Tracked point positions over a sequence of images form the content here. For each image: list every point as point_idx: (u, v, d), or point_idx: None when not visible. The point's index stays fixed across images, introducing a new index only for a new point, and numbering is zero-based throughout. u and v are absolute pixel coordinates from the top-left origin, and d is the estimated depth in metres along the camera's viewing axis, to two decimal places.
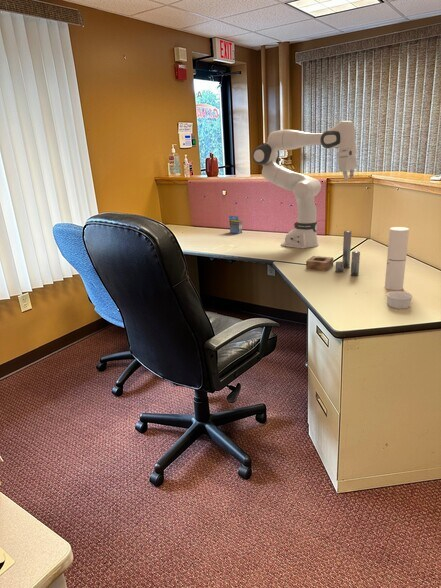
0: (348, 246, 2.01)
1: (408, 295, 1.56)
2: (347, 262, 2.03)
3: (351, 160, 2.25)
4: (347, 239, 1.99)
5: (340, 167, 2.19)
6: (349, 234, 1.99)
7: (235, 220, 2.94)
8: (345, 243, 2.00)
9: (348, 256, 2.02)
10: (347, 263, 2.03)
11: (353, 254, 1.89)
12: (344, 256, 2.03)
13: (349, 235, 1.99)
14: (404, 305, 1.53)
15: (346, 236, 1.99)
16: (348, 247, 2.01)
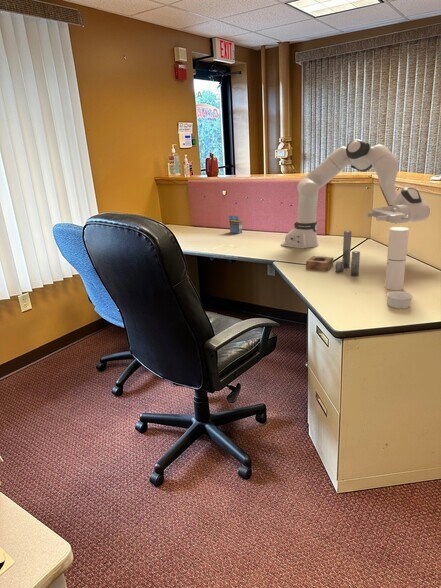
0: (348, 246, 2.01)
1: (408, 295, 1.56)
2: (347, 262, 2.03)
3: (391, 212, 1.99)
4: (347, 239, 1.99)
5: None
6: (349, 234, 1.99)
7: (235, 220, 2.94)
8: (345, 243, 2.00)
9: (348, 256, 2.02)
10: (347, 263, 2.03)
11: (353, 254, 1.89)
12: (344, 256, 2.03)
13: (349, 235, 1.99)
14: (404, 305, 1.53)
15: (346, 236, 1.99)
16: (348, 247, 2.01)
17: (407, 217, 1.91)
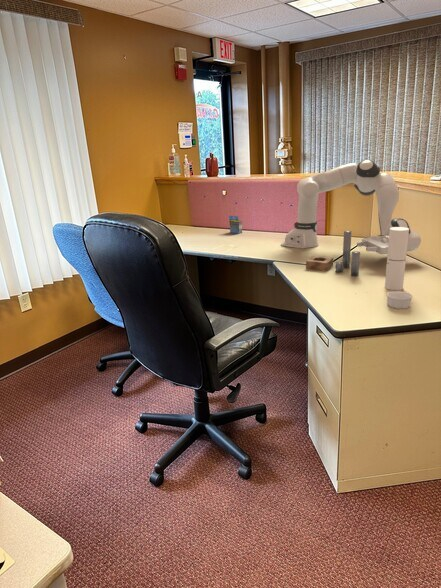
0: (348, 246, 2.01)
1: (408, 295, 1.56)
2: (347, 262, 2.03)
3: (381, 242, 2.03)
4: (347, 239, 1.99)
5: None
6: (349, 234, 1.99)
7: (235, 220, 2.94)
8: (345, 243, 2.00)
9: (348, 256, 2.02)
10: (347, 263, 2.03)
11: (353, 254, 1.89)
12: (344, 256, 2.03)
13: (349, 235, 1.99)
14: (404, 305, 1.53)
15: (346, 236, 1.99)
16: (348, 247, 2.01)
17: None
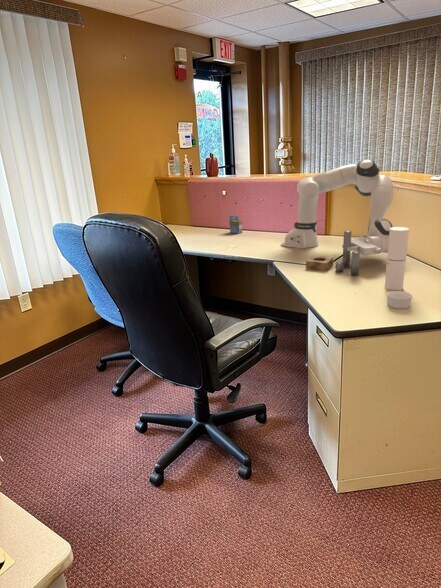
0: (348, 246, 2.01)
1: (408, 295, 1.56)
2: (347, 262, 2.03)
3: (364, 243, 2.02)
4: (347, 239, 1.99)
5: None
6: (349, 234, 1.99)
7: (235, 220, 2.94)
8: (345, 243, 2.00)
9: (348, 256, 2.02)
10: (347, 263, 2.03)
11: (353, 254, 1.89)
12: (344, 256, 2.03)
13: (349, 235, 1.99)
14: (404, 305, 1.53)
15: (346, 236, 1.99)
16: None
17: (378, 250, 1.94)
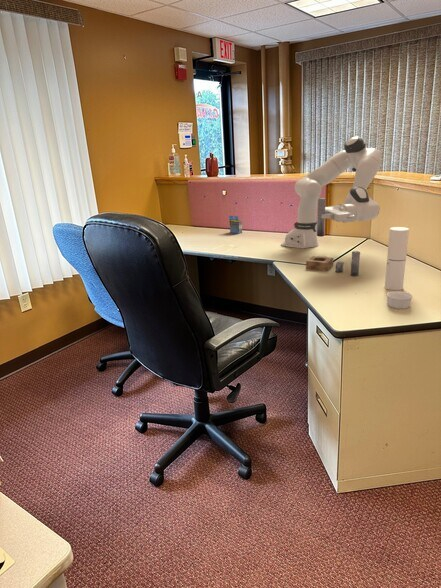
0: (322, 213, 1.98)
1: (408, 295, 1.56)
2: (321, 230, 2.01)
3: (339, 211, 1.99)
4: (321, 206, 1.97)
5: None
6: (323, 201, 1.96)
7: (235, 220, 2.94)
8: (319, 210, 1.98)
9: (322, 224, 2.00)
10: (321, 231, 2.01)
11: (353, 254, 1.89)
12: (318, 224, 2.00)
13: (323, 202, 1.96)
14: (404, 305, 1.53)
15: (320, 203, 1.96)
16: None
17: (352, 216, 1.92)
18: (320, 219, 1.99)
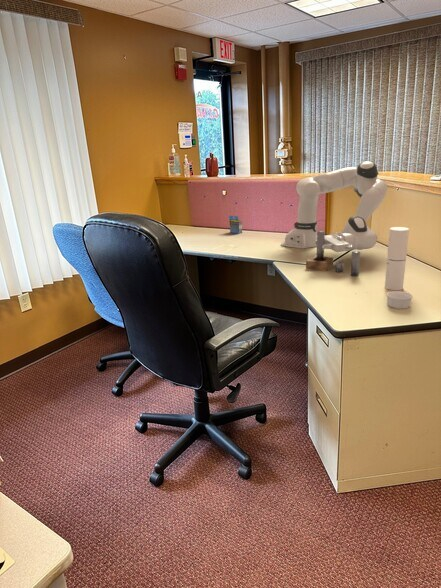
0: (321, 246, 2.03)
1: (408, 295, 1.56)
2: None
3: (337, 240, 2.04)
4: (321, 239, 2.02)
5: None
6: (322, 234, 2.01)
7: (235, 220, 2.94)
8: (318, 243, 2.03)
9: (321, 256, 2.05)
10: None
11: (353, 254, 1.89)
12: (318, 256, 2.06)
13: (322, 235, 2.01)
14: (404, 305, 1.53)
15: (319, 236, 2.02)
16: (321, 247, 2.03)
17: (350, 246, 1.97)
18: (319, 251, 2.04)
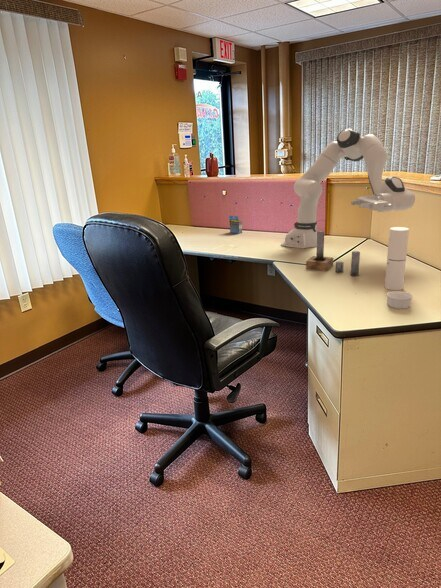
0: (321, 246, 2.04)
1: (408, 295, 1.56)
2: None
3: (375, 200, 2.01)
4: (320, 239, 2.02)
5: None
6: (322, 234, 2.02)
7: (235, 220, 2.94)
8: (318, 243, 2.03)
9: (321, 256, 2.05)
10: None
11: (353, 254, 1.89)
12: (317, 256, 2.06)
13: (322, 235, 2.02)
14: (404, 305, 1.53)
15: (319, 236, 2.02)
16: (321, 247, 2.04)
17: (390, 205, 1.93)
18: (319, 251, 2.05)
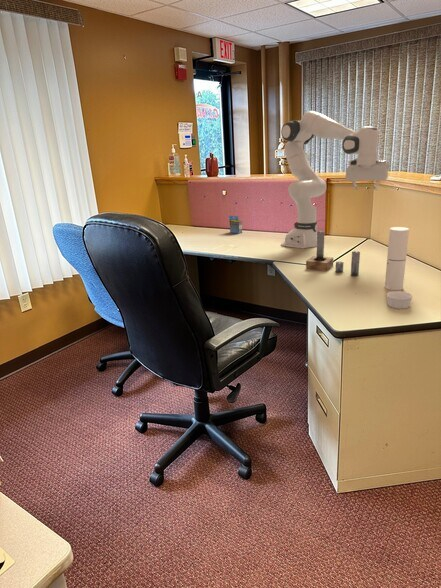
0: (321, 246, 2.03)
1: (408, 295, 1.56)
2: None
3: (368, 170, 2.06)
4: (321, 239, 2.02)
5: None
6: (322, 234, 2.01)
7: (235, 220, 2.94)
8: (318, 243, 2.03)
9: (321, 256, 2.05)
10: None
11: (353, 254, 1.89)
12: (318, 256, 2.06)
13: (322, 235, 2.01)
14: (404, 305, 1.53)
15: (319, 236, 2.02)
16: (321, 247, 2.03)
17: (388, 164, 2.02)
18: (319, 251, 2.04)
